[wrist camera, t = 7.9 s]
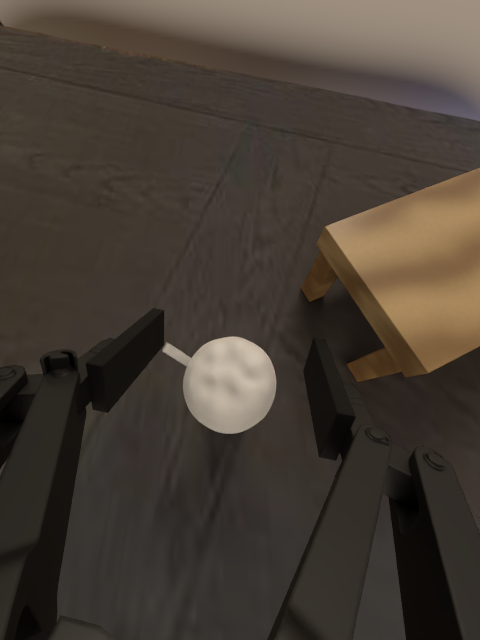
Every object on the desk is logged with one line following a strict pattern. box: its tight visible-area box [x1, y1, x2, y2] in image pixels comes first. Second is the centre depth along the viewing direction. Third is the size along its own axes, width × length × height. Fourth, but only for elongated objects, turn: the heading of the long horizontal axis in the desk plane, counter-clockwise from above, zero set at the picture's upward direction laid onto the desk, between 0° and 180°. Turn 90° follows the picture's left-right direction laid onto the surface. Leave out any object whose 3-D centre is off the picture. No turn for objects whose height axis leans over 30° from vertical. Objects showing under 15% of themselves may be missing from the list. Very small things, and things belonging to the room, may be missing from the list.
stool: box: [301, 168, 480, 382], centre depth 19 cm, size 10×15×8 cm, turn 114°
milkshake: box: [162, 337, 276, 434], centre depth 15 cm, size 4×5×10 cm
